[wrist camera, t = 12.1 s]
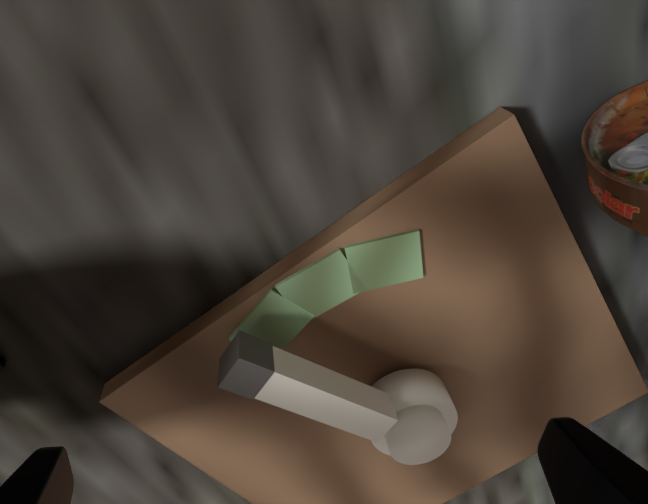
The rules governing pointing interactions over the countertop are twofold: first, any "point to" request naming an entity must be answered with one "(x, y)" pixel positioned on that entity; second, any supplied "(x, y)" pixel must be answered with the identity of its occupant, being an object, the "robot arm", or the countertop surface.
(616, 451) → the robot arm
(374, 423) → the peg
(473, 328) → the brown board
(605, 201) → the tin
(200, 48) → the countertop surface
